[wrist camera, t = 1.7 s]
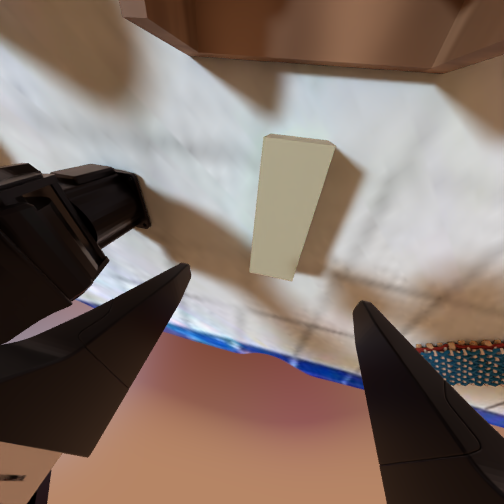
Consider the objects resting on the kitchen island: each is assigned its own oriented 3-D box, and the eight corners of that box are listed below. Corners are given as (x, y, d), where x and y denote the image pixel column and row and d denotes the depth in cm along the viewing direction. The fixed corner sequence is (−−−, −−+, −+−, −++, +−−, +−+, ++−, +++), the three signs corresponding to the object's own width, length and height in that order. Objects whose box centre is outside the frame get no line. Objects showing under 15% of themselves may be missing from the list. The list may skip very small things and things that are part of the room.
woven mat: (409, 339, 26) (416, 354, 24) (520, 332, 21) (538, 349, 20) (416, 372, 30) (423, 386, 29) (509, 373, 26) (523, 389, 24)
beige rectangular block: (293, 257, 21) (291, 281, 18) (256, 250, 22) (249, 272, 19) (327, 140, 14) (335, 145, 11) (271, 133, 15) (263, 137, 11)
